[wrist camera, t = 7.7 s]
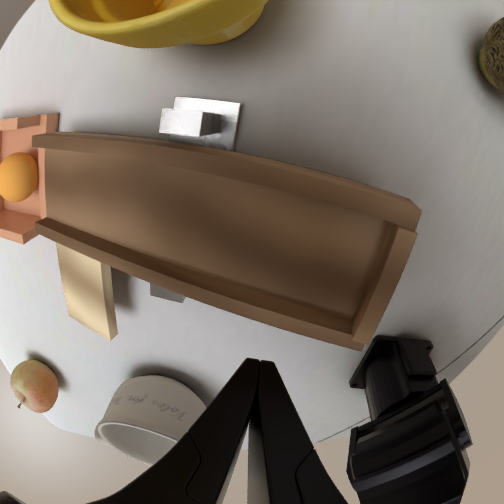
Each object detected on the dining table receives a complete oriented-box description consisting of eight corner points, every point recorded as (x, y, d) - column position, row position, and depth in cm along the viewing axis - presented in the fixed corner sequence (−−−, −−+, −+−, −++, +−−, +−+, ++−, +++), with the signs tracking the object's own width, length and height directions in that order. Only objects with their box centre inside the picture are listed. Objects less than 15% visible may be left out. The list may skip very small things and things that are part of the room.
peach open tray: (59, 227, 21) (29, 246, 17) (4, 214, 21) (-23, 228, 17) (59, 113, 17) (24, 117, 13) (1, 119, 17) (-30, 125, 13)
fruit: (54, 390, 33) (31, 426, 26) (22, 355, 31) (-5, 390, 24) (75, 384, 31) (49, 426, 24) (38, 345, 29) (6, 385, 22)
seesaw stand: (214, 275, 21) (198, 317, 17) (163, 264, 21) (136, 301, 17) (241, 104, 16) (227, 97, 12) (179, 97, 16) (145, 91, 12)
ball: (47, 198, 19) (8, 213, 15) (27, 191, 20) (-8, 203, 16) (47, 149, 17) (4, 159, 14) (26, 147, 18) (-11, 155, 15)
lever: (315, 409, 18) (308, 438, 16) (69, 306, 22) (50, 320, 20) (409, 198, 11) (424, 213, 9) (55, 131, 16) (27, 136, 13)
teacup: (201, 361, 25) (179, 432, 18) (228, 422, 30) (217, 480, 23) (89, 356, 28) (56, 407, 20) (128, 413, 32) (108, 460, 25)
